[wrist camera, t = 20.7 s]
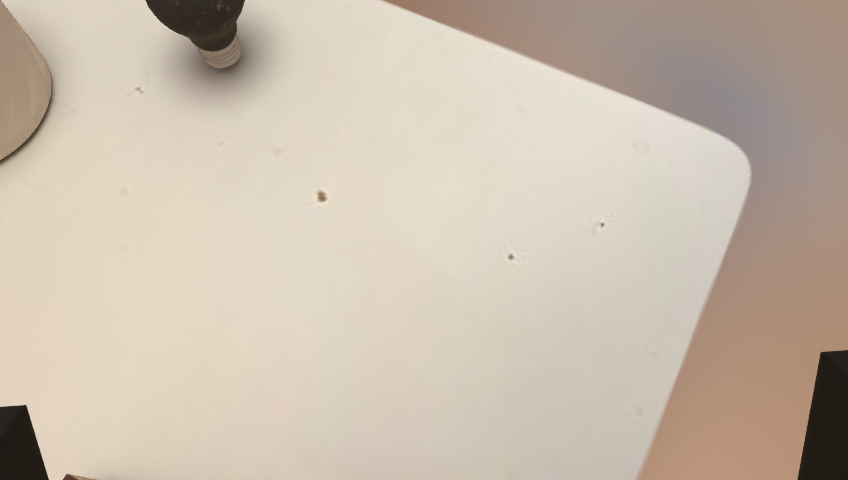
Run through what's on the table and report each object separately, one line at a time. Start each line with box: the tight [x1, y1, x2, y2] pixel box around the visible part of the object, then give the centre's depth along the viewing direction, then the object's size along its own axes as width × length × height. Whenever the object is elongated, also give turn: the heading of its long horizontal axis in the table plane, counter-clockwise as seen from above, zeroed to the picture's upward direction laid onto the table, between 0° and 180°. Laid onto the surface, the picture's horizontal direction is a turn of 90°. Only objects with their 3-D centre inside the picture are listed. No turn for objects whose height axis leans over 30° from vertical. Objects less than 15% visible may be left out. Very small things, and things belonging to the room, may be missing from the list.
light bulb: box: [146, 0, 245, 68], centre depth 44 cm, size 6×6×10 cm
